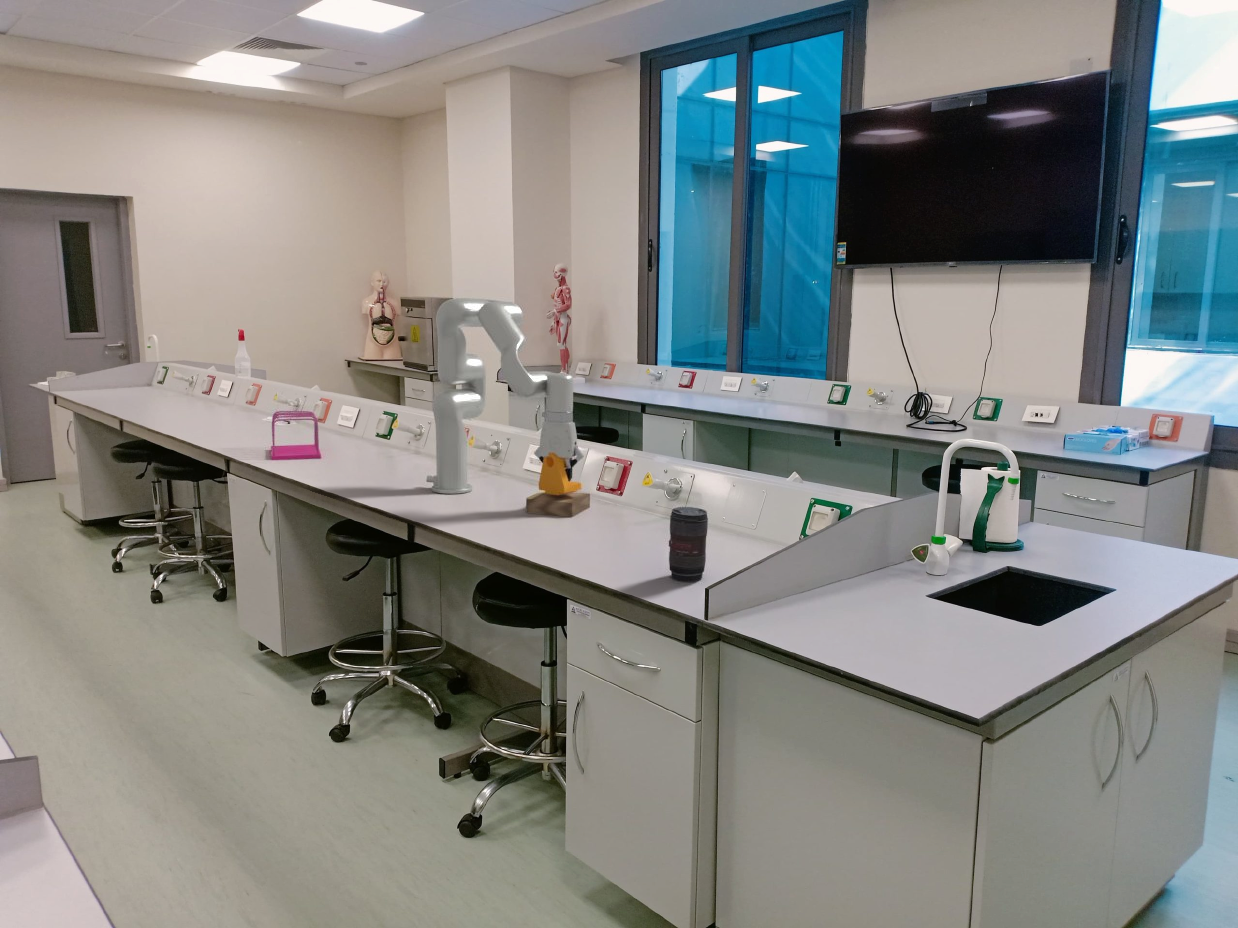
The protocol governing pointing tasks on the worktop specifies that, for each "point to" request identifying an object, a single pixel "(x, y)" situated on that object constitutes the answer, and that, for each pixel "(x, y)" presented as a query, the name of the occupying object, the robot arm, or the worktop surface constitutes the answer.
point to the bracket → (556, 477)
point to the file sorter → (295, 450)
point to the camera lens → (687, 543)
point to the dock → (558, 503)
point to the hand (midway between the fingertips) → (558, 479)
